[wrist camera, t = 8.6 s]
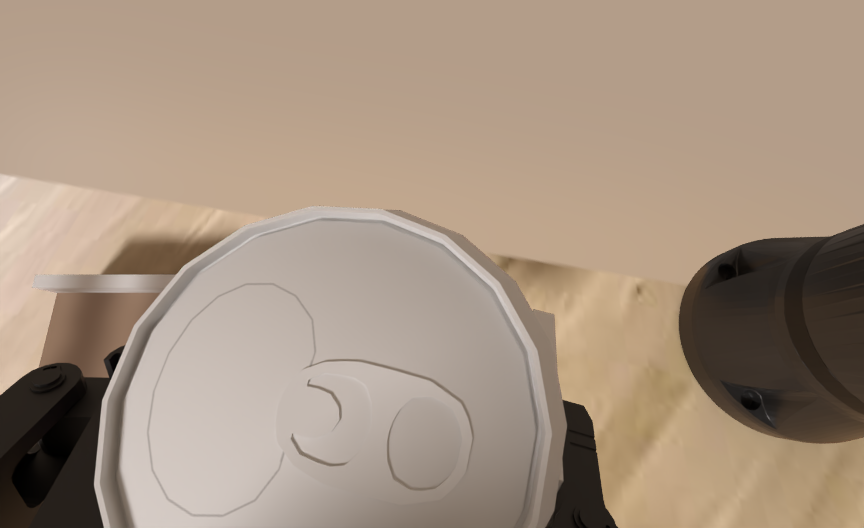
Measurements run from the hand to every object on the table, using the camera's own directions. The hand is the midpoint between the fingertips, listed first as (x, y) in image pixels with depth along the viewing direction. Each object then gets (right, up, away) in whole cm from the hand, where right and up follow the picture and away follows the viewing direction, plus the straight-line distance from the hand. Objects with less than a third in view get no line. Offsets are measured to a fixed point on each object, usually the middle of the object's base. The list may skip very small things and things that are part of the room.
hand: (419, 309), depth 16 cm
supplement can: (-1, -5, +5) cm, 7 cm away
